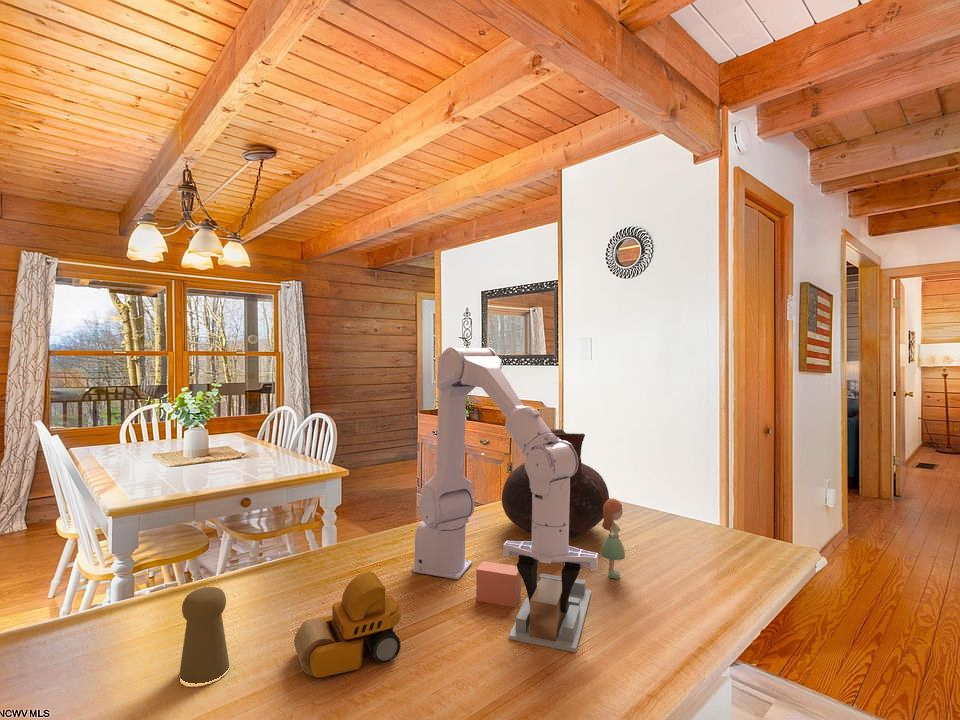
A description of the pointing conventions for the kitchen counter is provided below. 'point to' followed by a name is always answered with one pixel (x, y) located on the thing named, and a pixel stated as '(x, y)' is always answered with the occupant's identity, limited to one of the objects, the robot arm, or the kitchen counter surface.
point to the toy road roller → (351, 630)
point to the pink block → (498, 584)
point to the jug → (584, 494)
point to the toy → (612, 535)
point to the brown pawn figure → (204, 636)
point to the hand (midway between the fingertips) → (548, 606)
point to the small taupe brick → (546, 610)
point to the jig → (569, 626)
